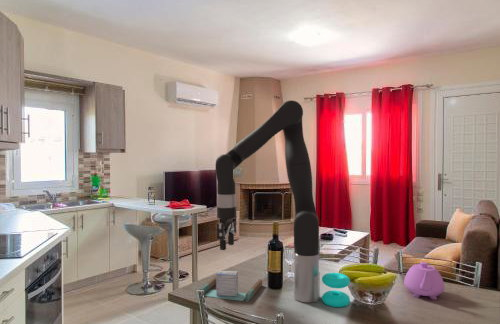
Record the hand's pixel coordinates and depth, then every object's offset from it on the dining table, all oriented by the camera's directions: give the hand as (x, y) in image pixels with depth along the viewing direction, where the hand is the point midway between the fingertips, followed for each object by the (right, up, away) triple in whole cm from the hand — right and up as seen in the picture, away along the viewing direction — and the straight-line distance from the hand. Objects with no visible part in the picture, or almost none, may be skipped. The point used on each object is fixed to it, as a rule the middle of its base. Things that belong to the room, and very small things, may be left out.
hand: (227, 247), depth 142 cm
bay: (+2, -19, +5) cm, 19 cm away
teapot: (+76, -19, 0) cm, 79 cm away
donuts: (+41, -19, -8) cm, 45 cm away
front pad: (0, -19, 0) cm, 19 cm away
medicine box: (0, -19, 0) cm, 19 cm away
